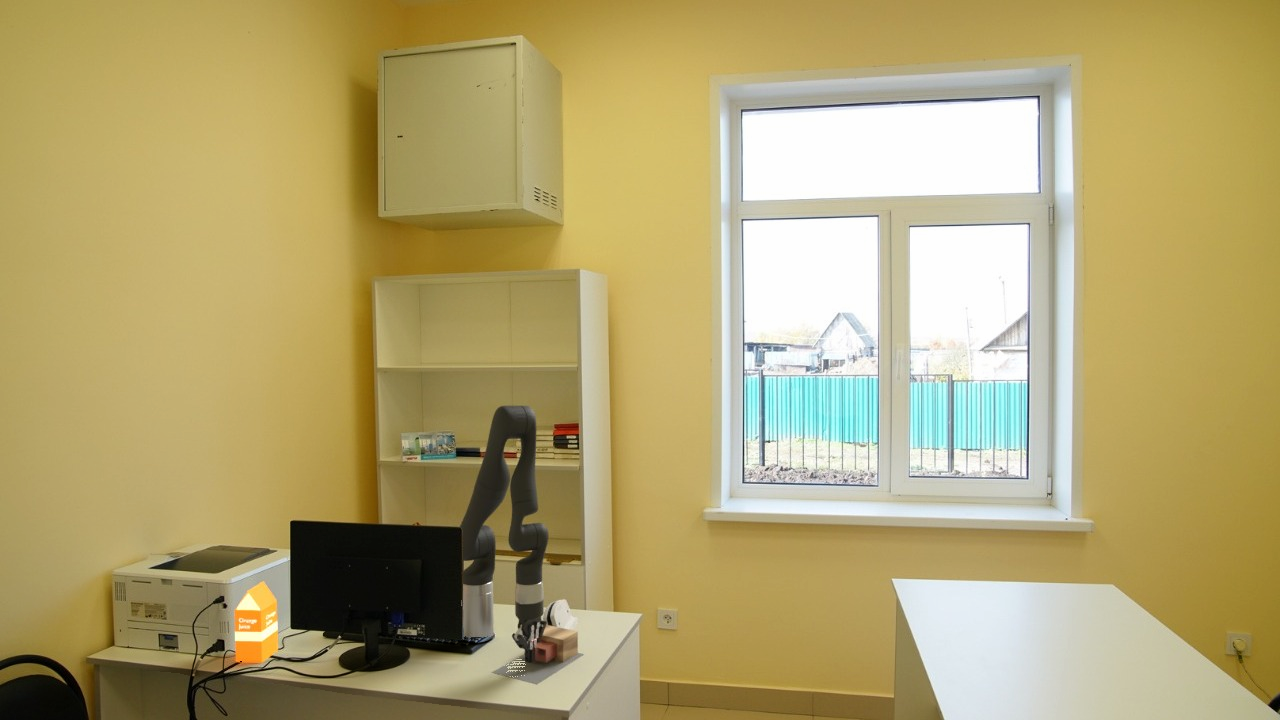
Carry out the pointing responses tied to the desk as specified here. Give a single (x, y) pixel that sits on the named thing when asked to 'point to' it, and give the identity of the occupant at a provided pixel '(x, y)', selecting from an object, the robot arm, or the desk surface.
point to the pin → (545, 651)
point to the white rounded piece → (560, 615)
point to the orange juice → (256, 625)
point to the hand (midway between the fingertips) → (530, 661)
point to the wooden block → (562, 641)
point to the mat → (534, 669)
